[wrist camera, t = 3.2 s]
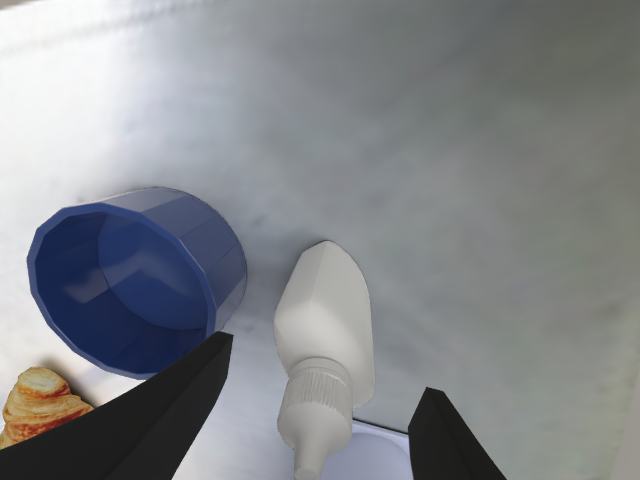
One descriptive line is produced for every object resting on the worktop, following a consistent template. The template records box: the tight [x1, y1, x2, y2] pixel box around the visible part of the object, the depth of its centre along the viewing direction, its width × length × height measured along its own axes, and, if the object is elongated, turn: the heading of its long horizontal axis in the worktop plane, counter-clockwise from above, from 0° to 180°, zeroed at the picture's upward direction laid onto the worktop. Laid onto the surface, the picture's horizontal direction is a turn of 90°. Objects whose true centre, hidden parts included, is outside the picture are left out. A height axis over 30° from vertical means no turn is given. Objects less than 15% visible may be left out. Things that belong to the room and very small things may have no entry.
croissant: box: [0, 367, 94, 450], centre depth 26 cm, size 21×10×8 cm, turn 8°
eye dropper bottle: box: [273, 241, 375, 480], centre depth 14 cm, size 4×6×12 cm
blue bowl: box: [27, 187, 247, 380], centre depth 18 cm, size 10×10×5 cm
